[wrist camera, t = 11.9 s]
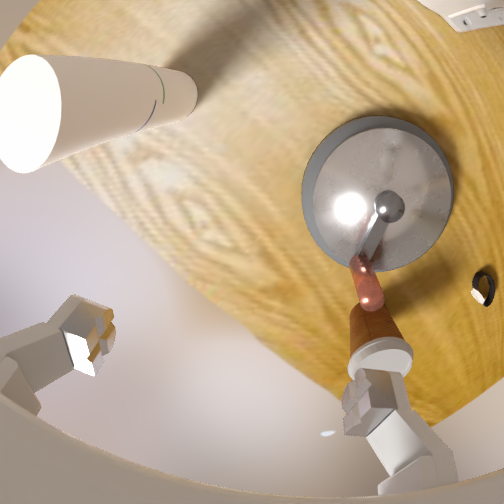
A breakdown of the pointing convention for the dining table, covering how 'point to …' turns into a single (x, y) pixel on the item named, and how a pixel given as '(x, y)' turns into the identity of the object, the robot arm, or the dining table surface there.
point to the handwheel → (380, 204)
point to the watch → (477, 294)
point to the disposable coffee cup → (377, 343)
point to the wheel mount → (331, 143)
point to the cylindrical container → (83, 105)
